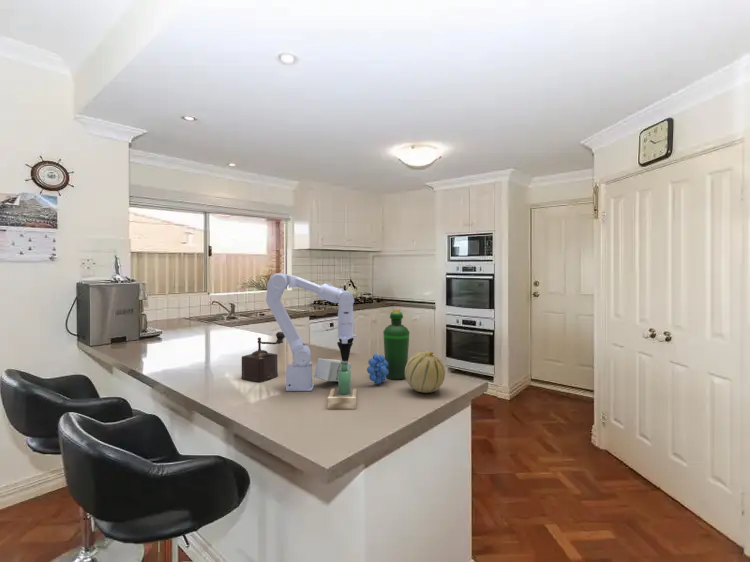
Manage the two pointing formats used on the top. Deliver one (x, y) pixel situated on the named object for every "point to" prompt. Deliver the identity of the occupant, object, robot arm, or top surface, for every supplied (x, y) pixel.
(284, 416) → the top surface
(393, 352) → the bottle
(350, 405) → the beech rest
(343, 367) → the green bottle
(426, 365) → the cantaloupe
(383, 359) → the grapes
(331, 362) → the supplement box
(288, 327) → the robot arm
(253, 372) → the manual coffee grinder
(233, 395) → the top surface
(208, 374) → the top surface
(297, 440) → the top surface
